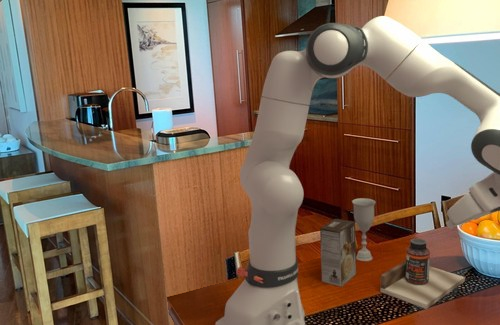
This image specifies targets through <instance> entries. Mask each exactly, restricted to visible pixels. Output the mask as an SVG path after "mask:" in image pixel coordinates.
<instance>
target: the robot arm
mask: <svg viewBox="0 0 500 325" xmlns="http://www.w3.org/2000/svg"><path fill="white" fill-rule="evenodd" d="M306 41H307V42H306V45H305V48H304V49H303V50H300V51H296V50H285V51H282V52H279V53H277V54H276V55H275V56H274V57H273V58H272V59H271V60H272V61H271V62H270V65H269V68H268V70H267V73H266V77H265V80H264V84H263V87H262V93H261V96H260V102H259V109H258V113H257V117H256V118H257V119H256V124H255V127H254V132H253V135H252V137H251V138H252V139H251V141H250V144H249V146H248V149H247V152H246V154H245V159H244V161H243V163H242V165H241V166H240V169H239V171H240V172H239V180H240V185H241V188H242V189H243V192H244V193H245V194H247V196H248V197H249V200H250V203H251V204H250V205H251V216H250V225H249V229H248V232H247V233H248V235H247V236H248V249H249V252H248V253H249V260H248V264H247V267H246V269H245V268H243V267H242V266H239V267H238V268H237V269H236V272H235V273H236V275H238V276H240V277H241V278H244V280H243V281H242V282H241V284H240V285H239V286H238V288H236V290H235V291H234V292H233V294H232V295H231V296H230V297H229V298H228V300H227V301H226V303H225V307H224V316H222V317H221V318H219V319H218V320H217V321H215V324H214V325H306V321H305V316H306V315H305V314H306V312H305V310H304V307H303V303H302V301H301V294H300V289H299V283H298V277H299V265H298V264H299V263H298V259H297V257H296V256H297V254H296V226H297V218H298V212H299V208H300V207H301V206H302V204H303V200H304V195H305V194H304V188H303V186H302V183H301V181H300V179H299V177H298V176H297V175H296V173H295V172H294V171H293V170H292V169H290V165H291V161H292V158H293V156H294V153H295V152H296V150H297V147H298V146H299V144H300V143H301V142H302V140H303V138H304V134H305V131H306V130H305V129H306V123H307V119H308V114H309V110H310V106H311V99H312V95H313V91H314V87H315V85H317V84H316V83H317V82H318V81H323V80H331V79H338V78H341V77H345V76H346V75H348V74H349V73H350V72H351V71H352V70H353V69H354V68H356V67H358V66H364V67H367V68H369V69H371V70H372V71H374V72H375V73H376V74H377V75H378V76H380V77H381V78H382V79H383V80H384V81H386V82H387V83H388V84H389V86H391V87H393V89H395V90H396V91H397V92H399V93H401V94H403V95H405V96H406V97H409V98H421V97H422V98H423V97H426V96H429V95H434V94H444V95H448V96H449V97H451V98H453V99H454V100H456V101H457V102H458V103H460V104H462V106H464V107H465V108H466V109H468V110H469V111H471V112H473V114H475V115H476V116H477V117H478V119H479V122H480V124H479V126H478V128H477V129H476V132H475V134H474V136H473V139H472V140H471V144H470V149H471V154H472V155H473V157H474V158H475V160H476V161H477V162H478V163H479V164H481V165H483V167H485V168H487V169H488V170H490V171H492V172H491V173H490V174H489V175H488V176H485V178H484V179H482V180H481V181H478V182H476V183H474V184H473V185H471V186H470V187H469V188H468V191H469V192H467V193H465V194H464V195H462V197H460V198H459V199H458V200H457V201H456V202H455V203H454V204H453V205H452V206H451V207H449V209H447V212H446V215H447V217H448V218H449V219H448V220H447V221H446V222H445V224H446V226H447V228H448V229H454V228H455V227H458V226H459V225H463V224H465V223H468V222H471V221H473V220H474V221H476V220H479V219H481V218H482V217H485V216H488V215H491V214H493V213H497V212H500V93H499V92H498V91H496V90H495V89H493V88H492V87H491V86H489V85H488V84H487V83H486V82H483V81H482V80H481V79H479V78H478V77H476V75H474V74H472V73H471V72H470V71H469V70H467V69H466V68H464V67H463V66H461V65H459V64H458V63H456V62H454V61H452V60H450V59H449V58H447V57H446V56H445V55H442V54H441V53H440V52H438V51H437V50H436V49H434V48H433V47H432V46H431V44H429V43H427V42H426V41H425V40H424V39H422V38H421V37H420V36H419V35H418V34H416V33H415V32H414V31H412V30H411V29H409V28H408V27H406V26H405V25H403V24H401V23H400V22H398V21H397V20H394V19H393V18H391V17H390V16H387V15H386V16H385V15H380V16H376V17H374V18H372V19H370V20H369V21H368V22H366V23H365V24H364V25H363V26H362V27H360V26H357V25H352V24H351V25H350V24H345V23H340V22H329V23H324V24H322V25H320V26H318V27H317V28H316V29H314V30H313V32H312V33H311V34H310V35H309V37H308V40H306Z"/></svg>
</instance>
